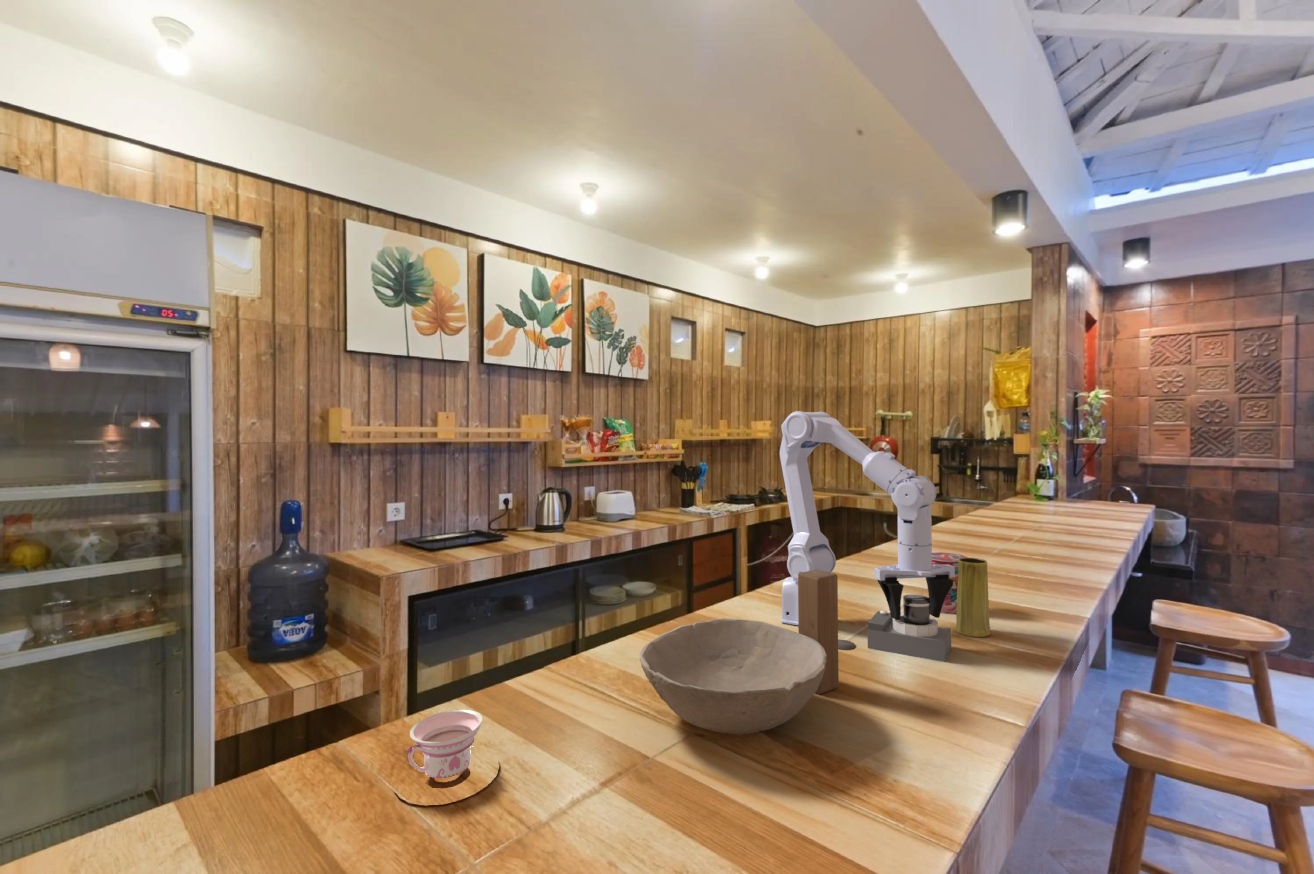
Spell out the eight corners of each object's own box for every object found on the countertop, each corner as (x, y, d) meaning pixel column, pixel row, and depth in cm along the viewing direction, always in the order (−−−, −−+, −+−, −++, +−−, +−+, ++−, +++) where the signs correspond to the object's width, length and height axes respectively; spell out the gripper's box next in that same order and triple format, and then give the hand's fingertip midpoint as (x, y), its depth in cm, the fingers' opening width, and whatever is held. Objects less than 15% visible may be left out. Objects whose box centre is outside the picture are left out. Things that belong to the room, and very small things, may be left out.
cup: (928, 614, 130) (927, 559, 130) (922, 603, 138) (922, 551, 138) (976, 617, 127) (975, 561, 127) (967, 606, 135) (967, 553, 135)
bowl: (671, 787, 69) (670, 700, 69) (623, 690, 95) (622, 627, 94) (870, 751, 76) (870, 672, 76) (775, 670, 102) (774, 611, 101)
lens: (909, 634, 108) (909, 600, 108) (899, 626, 112) (899, 593, 112) (934, 634, 108) (934, 600, 107) (923, 626, 112) (923, 593, 112)
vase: (982, 627, 121) (981, 556, 121) (996, 638, 115) (995, 563, 115) (950, 626, 122) (950, 556, 122) (963, 637, 116) (962, 563, 116)
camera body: (867, 647, 111) (867, 619, 111) (878, 634, 118) (877, 608, 118) (945, 661, 104) (944, 631, 104) (951, 647, 111) (951, 618, 111)
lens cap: (825, 648, 112) (824, 645, 112) (832, 640, 116) (832, 637, 116) (851, 653, 109) (851, 650, 109) (858, 645, 113) (858, 642, 113)
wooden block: (777, 675, 99) (776, 567, 99) (796, 669, 102) (795, 563, 102) (820, 695, 92) (818, 578, 92) (839, 688, 94) (838, 573, 94)
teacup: (464, 740, 80) (463, 694, 80) (520, 772, 73) (519, 721, 73) (374, 781, 71) (373, 730, 71) (427, 823, 64) (426, 765, 63)
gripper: (888, 549, 105) (888, 626, 105) (965, 545, 107) (965, 621, 107) (869, 541, 112) (869, 613, 112) (941, 538, 114) (942, 610, 114)
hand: (915, 617), depth 110 cm, fingers open, 7 cm apart
